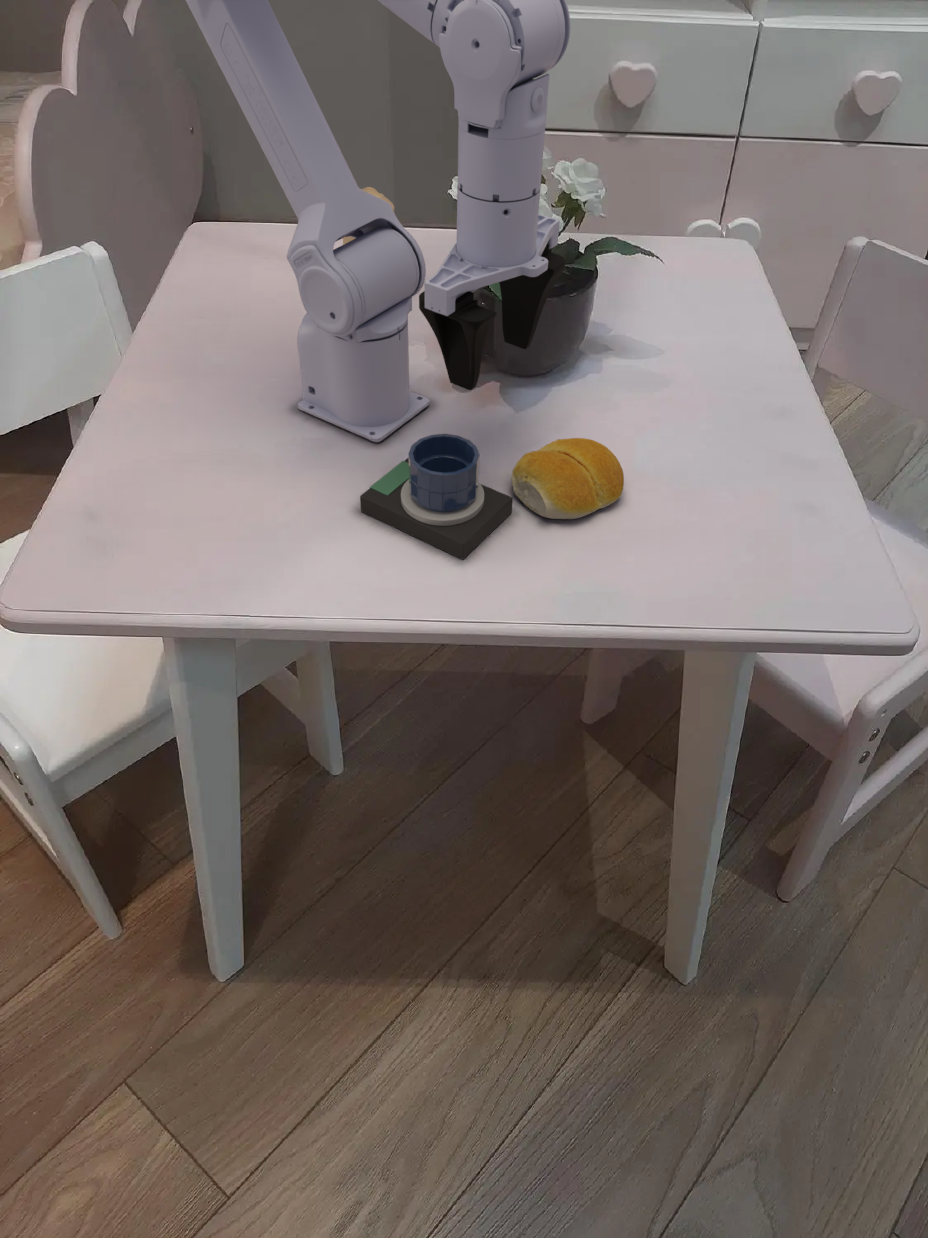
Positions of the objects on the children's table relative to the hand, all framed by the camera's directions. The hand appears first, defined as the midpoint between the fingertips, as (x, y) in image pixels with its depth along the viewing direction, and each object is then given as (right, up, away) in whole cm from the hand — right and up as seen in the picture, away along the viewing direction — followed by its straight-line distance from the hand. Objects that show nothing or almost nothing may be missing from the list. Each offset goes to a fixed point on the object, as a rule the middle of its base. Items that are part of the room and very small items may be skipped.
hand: (490, 363), depth 74 cm
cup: (-4, -10, 0) cm, 11 cm away
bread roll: (+6, -10, +4) cm, 12 cm away
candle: (-12, +16, +29) cm, 35 cm away
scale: (-4, -12, +2) cm, 12 cm away
